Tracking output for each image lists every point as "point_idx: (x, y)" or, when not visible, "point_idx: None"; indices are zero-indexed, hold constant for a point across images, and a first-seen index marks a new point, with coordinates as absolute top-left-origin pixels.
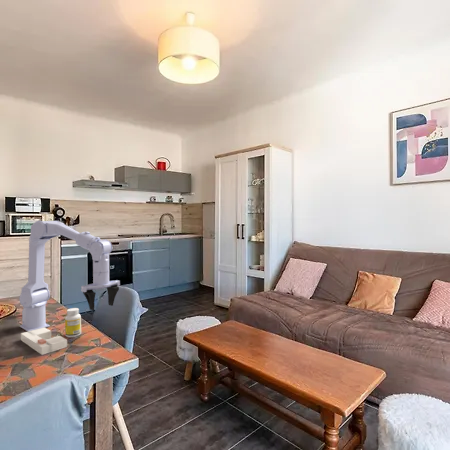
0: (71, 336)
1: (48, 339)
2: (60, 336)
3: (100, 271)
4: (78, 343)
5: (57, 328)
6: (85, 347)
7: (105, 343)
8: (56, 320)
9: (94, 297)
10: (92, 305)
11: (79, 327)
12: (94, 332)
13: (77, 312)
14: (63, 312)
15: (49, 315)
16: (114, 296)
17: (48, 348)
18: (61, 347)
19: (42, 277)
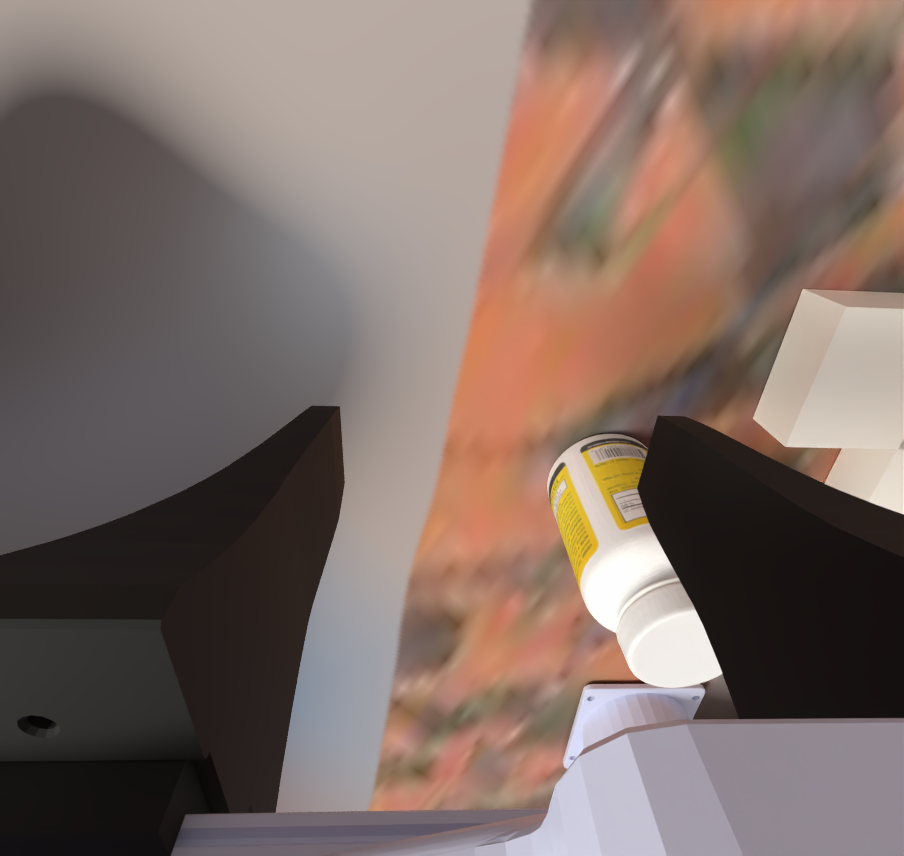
0: (645, 446)
1: (883, 433)
2: (799, 422)
3: None
4: (707, 286)
5: (577, 637)
6: (752, 138)
7: (592, 52)
8: (497, 735)
9: (847, 526)
10: (745, 446)
11: (604, 472)
12: (476, 406)
13: (665, 587)
14: (398, 804)
15: (474, 804)
16: (237, 475)
17: None
18: (853, 294)
19: None
